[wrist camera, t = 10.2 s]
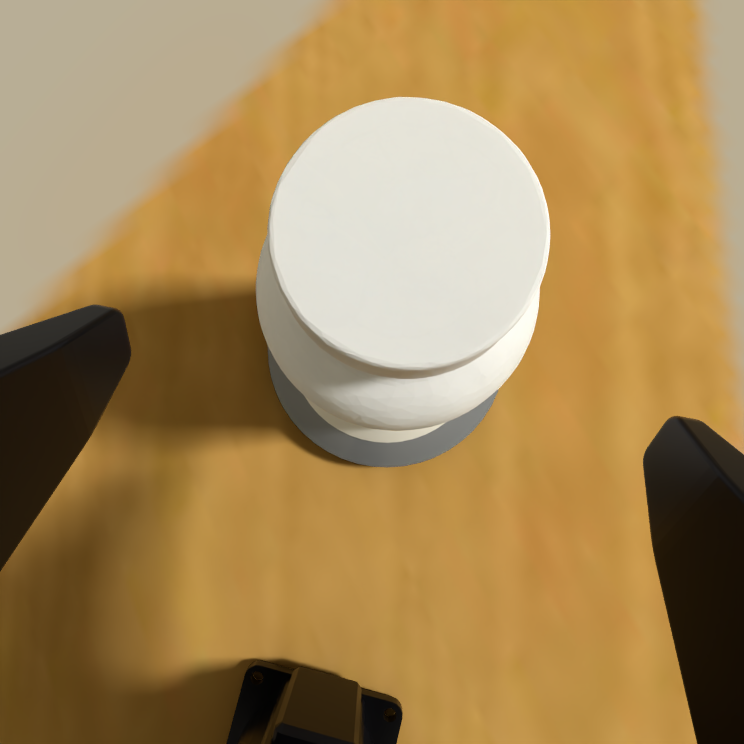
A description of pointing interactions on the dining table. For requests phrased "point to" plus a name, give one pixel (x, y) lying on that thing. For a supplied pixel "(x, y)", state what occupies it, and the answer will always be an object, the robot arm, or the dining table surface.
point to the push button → (371, 430)
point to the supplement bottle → (403, 263)
